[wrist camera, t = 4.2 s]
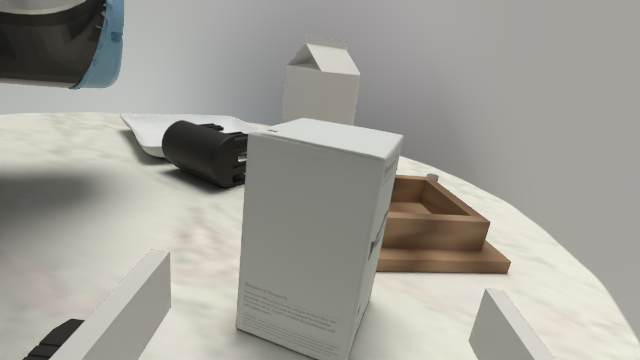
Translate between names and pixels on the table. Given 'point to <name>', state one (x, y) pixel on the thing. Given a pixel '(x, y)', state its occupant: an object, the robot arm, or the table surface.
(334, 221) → the supplement box
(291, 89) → the milk carton
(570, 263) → the table surface
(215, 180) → the end cap
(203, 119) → the salad plate
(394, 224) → the jig
